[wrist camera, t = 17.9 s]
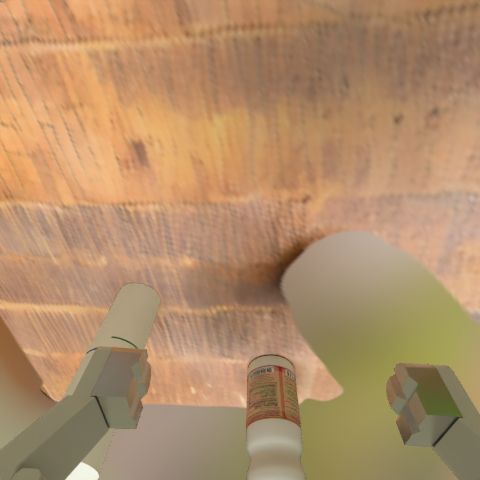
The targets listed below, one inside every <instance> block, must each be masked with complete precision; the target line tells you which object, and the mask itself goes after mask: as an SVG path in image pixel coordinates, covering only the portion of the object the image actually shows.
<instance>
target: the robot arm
mask: <svg viewBox="0 0 480 480" xmlns="http://www.w3.org/2000/svg"><path fill="white" fill-rule="evenodd" d="M147 358H148V353H147V349H133V348H119V347H104V346H99V347H98V348H97V349H96V350H95V352H94V354H93V356H92V358H91V360H90V361H89V363H88V365H87V367H86V369H85V371H84V373H83V375H82V377H81V379H80V381H79V383H78V385H77V387H76V389H75V391H74V393H73V395H67V396H66V397H65V398H63V399H62V400H61V401H60V402H58V403H57V404H56V405H55V406H54V407H52V408H51V409H50V410H49V411H47V412H46V413H45V414H44V415H43V416H41V417H40V418H39V419H37V420H36V421H35V422H34V423H33V424H31V425H30V426H29V427H28V428H26V429H25V430H24V431H23V432H21V433H20V434H19V435H18V436H16V437H15V438H14V439H13V440H12V441H10V442H9V443H8V444H7V445H5V446H4V447H3V448H2V449H0V480H65V479H66V478H67V477H68V476H69V475H70V474H71V473H72V471H73V470H74V469H75V468H76V467H77V466H78V465H79V464H80V462H81V461H82V460H83V459H84V458H85V457H86V456H87V455H88V453H89V452H90V451H91V450H92V449H93V448H94V447H95V445H96V444H97V443H98V442H99V441H100V440H101V439H102V438H103V436H104V435H105V434H106V433H107V432H108V431H109V429H108V428H113V429H136V428H137V425H138V421H139V418H140V415H141V412H142V408H143V407H142V402H141V399H142V398H143V397H144V396H145V395H146V394H147V392H148V388H149V385H150V378H151V366H150V364H149V363H148V362H147ZM394 371H395V375H393V376H391V377H390V378H389V380H388V382H387V388H386V393H387V398H388V401H389V404H390V407H391V408H392V409H393V410H394V411H395V412H396V413H397V414H398V417H397V421H396V423H397V426H398V429H399V431H400V434H401V437H402V439H403V442H404V445H410V446H421V447H433V450H434V451H435V452H436V454H437V455H438V456H439V457H440V458H441V459H442V461H443V462H444V463H445V464H446V465H447V466H448V468H449V469H450V470H451V471H452V472H453V473H454V474H455V476H456V477H457V478H458V479H459V480H480V414H479V413H478V411H477V409H476V408H475V406H474V404H473V403H472V401H471V399H470V398H469V396H468V394H467V393H466V391H465V389H464V388H463V386H462V384H461V383H460V381H459V379H458V378H457V376H456V375H455V373H454V371H453V370H452V369H451V368H450V367H449V366H445V365H429V364H412V363H399V364H397V365H396V366H395V368H394Z"/></svg>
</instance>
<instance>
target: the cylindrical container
mask: <svg viewBox="0 0 480 480" xmlns="http://www.w3.org/2000/svg"><path fill="white" fill-rule="evenodd" d="M159 306H160V297H159V295H158V294H157V292H156V291H155V290H154V289H152V288H151V287H149V286H147V285H144V284H140V283H130V284H127V285H125V286H123V287H122V288H121V289H120V291H119V293H118V295H117V297H116V298H115V300H114V302H113V304H112V306H111V308H110V310H109V312H108V314H107V315H106V317H105V319H104V321H103V323H102V325H101V327H100V329H99V330H98V332H97V334H96V336H95V338H94V340H93V342H92V344H91V345H90V347H89V349H88V351H87V353H86V355H85V357H84V359H83V360H82V362H81V364H80V366H79V368H78V370H77V372H76V374H75V375H74V377H73V379H72V381H71V383H70V385H69V387H68V389H67V391H66V392H65V394H64V396H63V398H65V397H66V396H67V395H73V393H74V391H75V389H76V387H77V385H78V383H79V381H80V379H81V377H82V375H83V373H84V371H85V369H86V367H87V365H88V363H89V361H90V360H91V358H92V356H93V354H94V352H95V350H96V349H97V348H98V347H99V346H104V347H119V348H133V349H144V348H145V345H146V342H147V340H148V337H149V334H150V331H151V328H152V326H153V323H154V320H155V317H156V314H157V311H158V309H159ZM63 398H62V399H63ZM108 429H109V431H108V432H107V433H106V434H105V435H104V436H103V438H102V439H101V440H100V441H99V442H98V443H97V444H96V445H95V447H94V448H93V449H92V450H91V451H90V452H89V453H88V455H87V456H86V457H85V458H84V459H83V460H82V461H81V462H80V464H79V465H78V466H77V467H76V468H75V469H74V470H73V471H72V473H71V474H70V475H69V476H68V477H67V478H66V479H65V480H97V479H98V478H99V475H100V472H101V469H102V466H103V463H104V461H105V458H106V455H107V452H108V449H109V447H110V444H111V441H112V438H113V436H114V433H115V430H116V429H113V428H108Z"/></svg>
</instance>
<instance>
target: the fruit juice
mask: <svg viewBox="0 0 480 480" xmlns="http://www.w3.org/2000/svg"><path fill="white" fill-rule="evenodd" d="M246 422H247V423H246V446H247V452H248V455H249V466H248V470H247V475H246V480H306V476H305V472H304V469H303V466H302V463H301V455H302V451H303V441H302V431H301V425H300V424H301V423H300V415H299V407H298V397H297V389H296V380H295V372H294V368H293V366H292V364H291V363H290V362H289V361H288V360H287V359H285V358H283V357H279V356H274V355H268V356H262V357H259V358H257V359H255V360H253V361H252V362H251V363H250V365H249V367H248V373H247V421H246Z"/></svg>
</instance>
